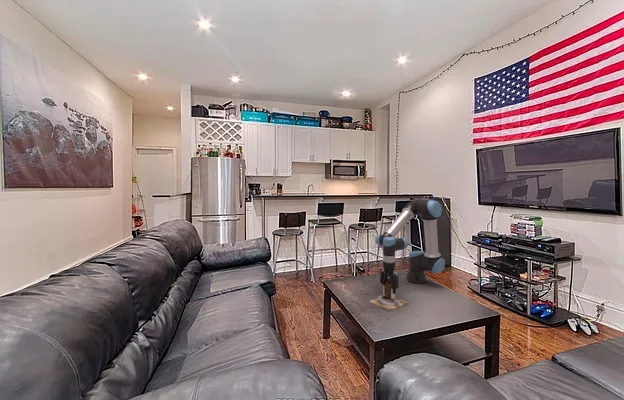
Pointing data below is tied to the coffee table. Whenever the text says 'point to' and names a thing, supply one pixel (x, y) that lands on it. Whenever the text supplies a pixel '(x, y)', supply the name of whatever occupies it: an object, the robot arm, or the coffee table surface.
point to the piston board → (388, 303)
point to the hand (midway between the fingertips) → (389, 296)
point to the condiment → (388, 291)
